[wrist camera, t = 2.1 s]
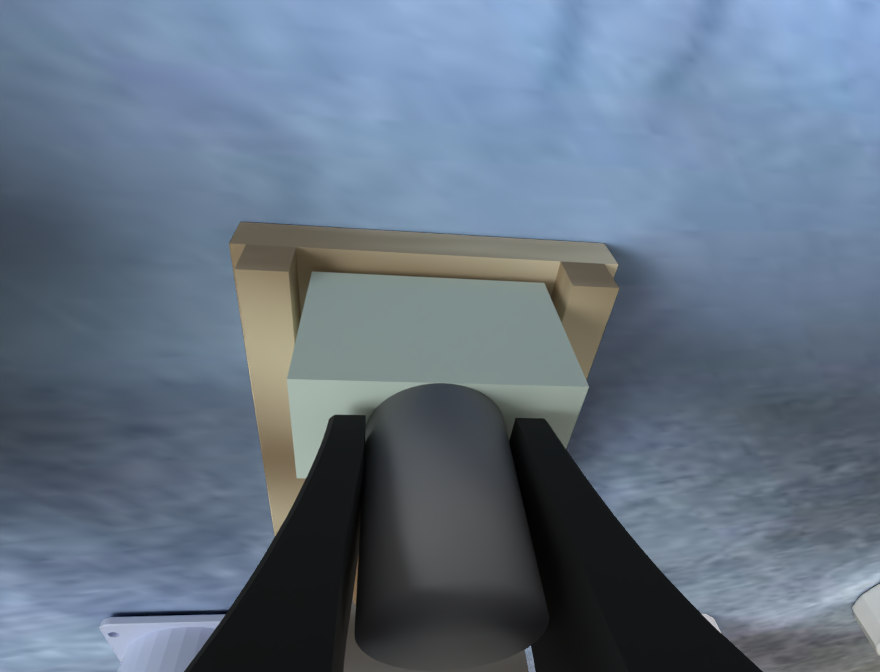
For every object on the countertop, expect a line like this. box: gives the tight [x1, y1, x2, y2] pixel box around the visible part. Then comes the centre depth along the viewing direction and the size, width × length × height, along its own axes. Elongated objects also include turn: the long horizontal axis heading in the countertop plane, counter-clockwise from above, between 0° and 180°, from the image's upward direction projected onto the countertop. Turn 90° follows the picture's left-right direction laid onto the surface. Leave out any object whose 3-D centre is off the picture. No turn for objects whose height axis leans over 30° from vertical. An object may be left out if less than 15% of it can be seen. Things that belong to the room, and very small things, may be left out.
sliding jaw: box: [287, 272, 589, 671], centre depth 11 cm, size 3×6×8 cm, turn 84°
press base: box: [229, 222, 619, 672], centre depth 17 cm, size 18×10×6 cm, turn 174°
